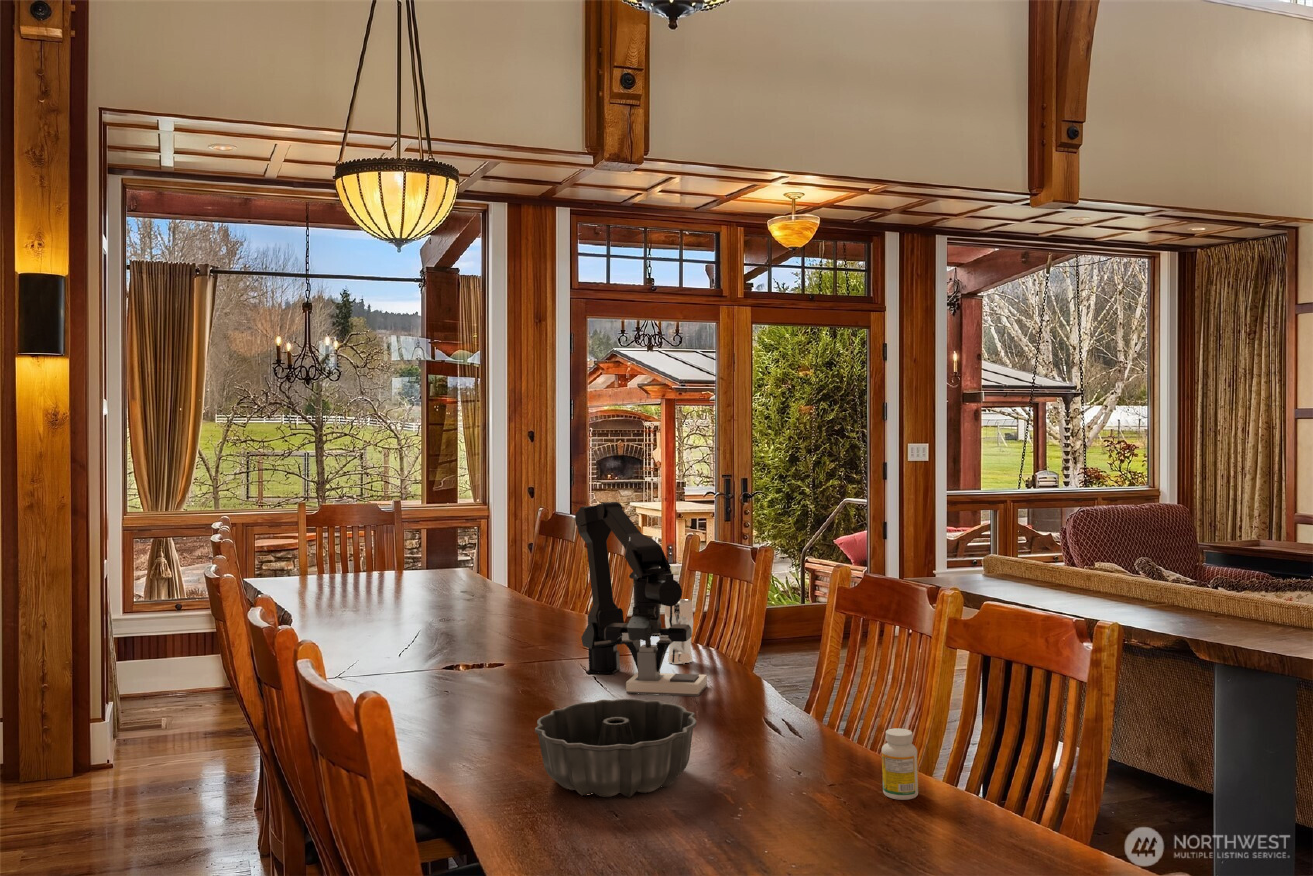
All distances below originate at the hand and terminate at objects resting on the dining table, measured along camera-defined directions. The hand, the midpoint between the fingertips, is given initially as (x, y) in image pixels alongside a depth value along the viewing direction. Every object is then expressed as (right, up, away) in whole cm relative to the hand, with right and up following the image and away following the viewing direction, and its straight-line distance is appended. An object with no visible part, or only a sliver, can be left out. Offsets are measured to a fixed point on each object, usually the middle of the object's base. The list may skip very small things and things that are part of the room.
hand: (648, 671), depth 227 cm
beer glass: (+8, -4, +26) cm, 27 cm away
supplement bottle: (+39, -3, -69) cm, 80 cm away
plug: (0, -3, 0) cm, 2 cm away
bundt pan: (-5, -5, -59) cm, 59 cm away
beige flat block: (+4, -4, -1) cm, 6 cm away
